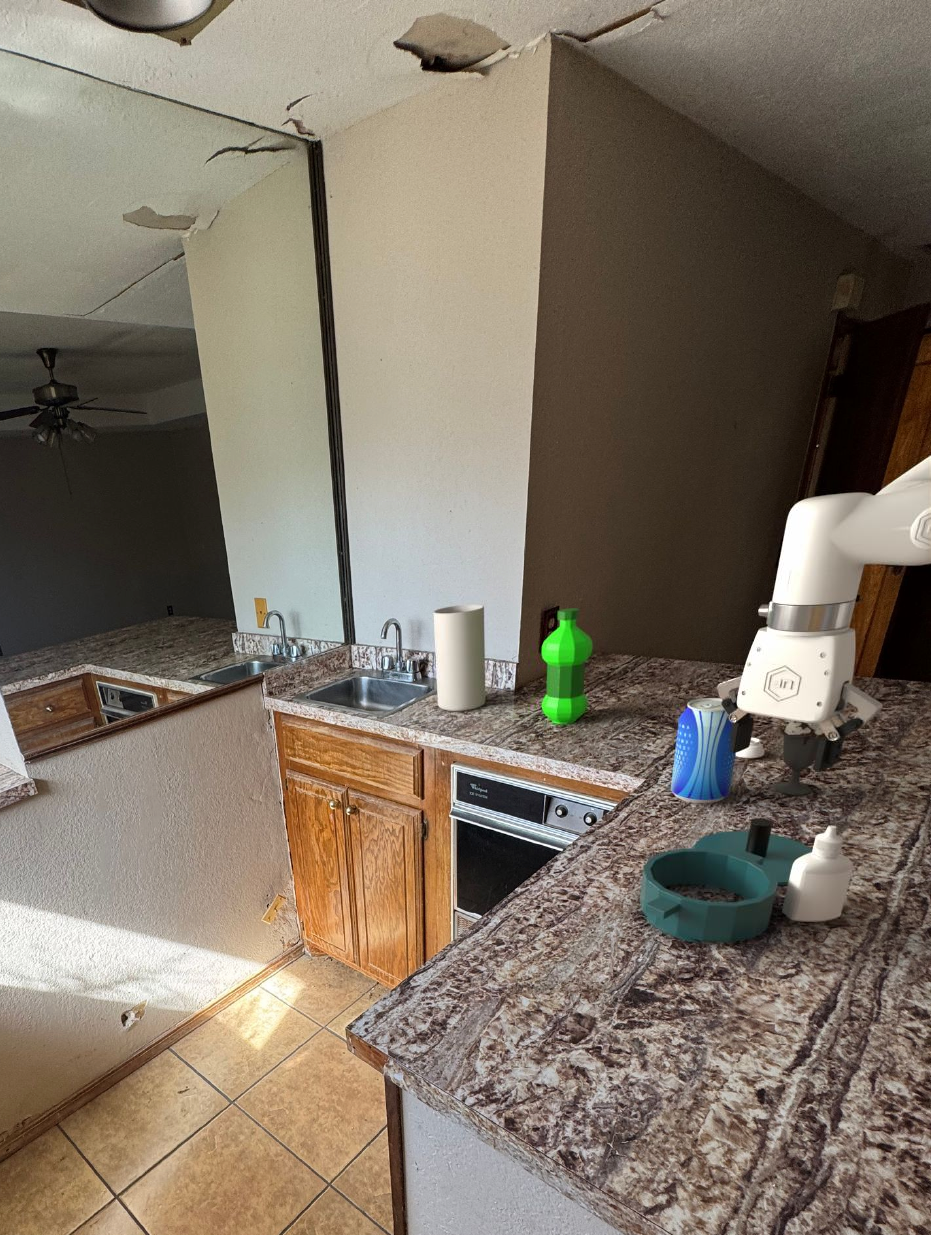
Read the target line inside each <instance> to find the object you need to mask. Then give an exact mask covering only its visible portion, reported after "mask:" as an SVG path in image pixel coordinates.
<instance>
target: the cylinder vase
mask: <svg viewBox="0 0 931 1235" xmlns="http://www.w3.org/2000/svg"><path fill="white" fill-rule="evenodd" d="M433 631H434V635H433V636H434V652H435V653H434V654H435V655H434V656H435V675H436V695H437V706H438V708H440V709H441V710H443V711H448V712H465V711H471V710H476V709H478V708H480V707H482V706H484V705H485V703H486V649H485V648H486V647H485V605H483V604H475V603H473V604H472V603H471V604H460V605H459V604H457V605H452V606H446V607H441V608H437V609H435V610H433Z"/></svg>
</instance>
